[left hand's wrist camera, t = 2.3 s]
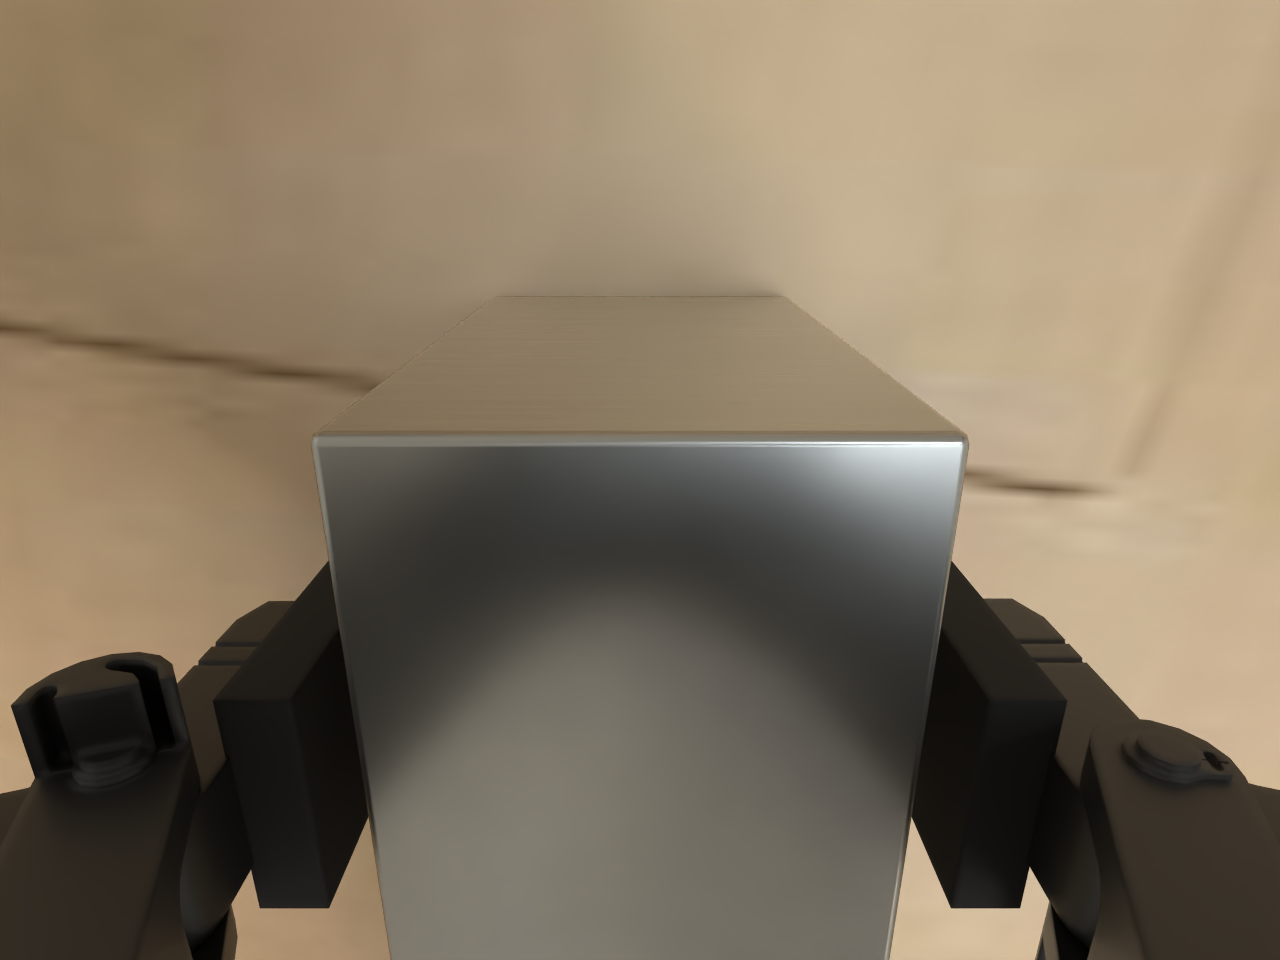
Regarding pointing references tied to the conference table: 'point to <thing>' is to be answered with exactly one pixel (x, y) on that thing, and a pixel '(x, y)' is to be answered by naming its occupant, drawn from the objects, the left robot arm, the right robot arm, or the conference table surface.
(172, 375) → the conference table surface
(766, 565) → the bar
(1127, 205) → the conference table surface
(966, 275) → the conference table surface
